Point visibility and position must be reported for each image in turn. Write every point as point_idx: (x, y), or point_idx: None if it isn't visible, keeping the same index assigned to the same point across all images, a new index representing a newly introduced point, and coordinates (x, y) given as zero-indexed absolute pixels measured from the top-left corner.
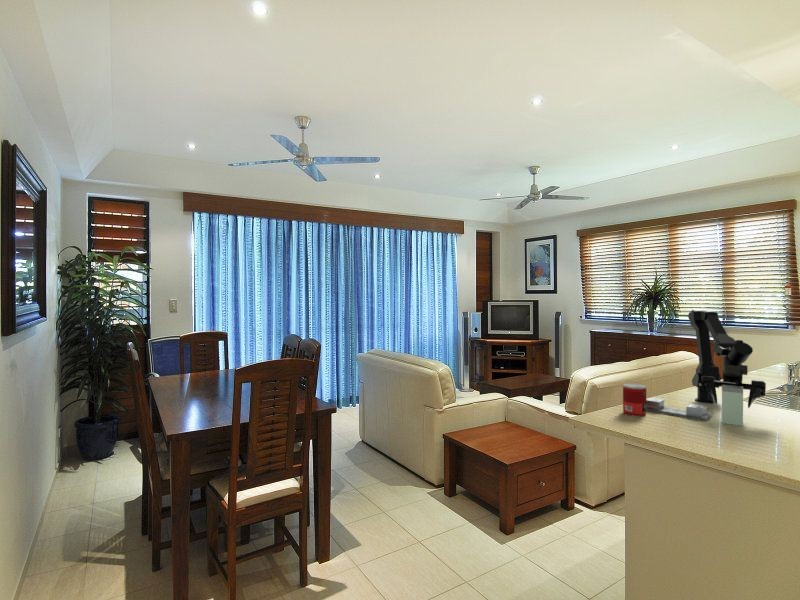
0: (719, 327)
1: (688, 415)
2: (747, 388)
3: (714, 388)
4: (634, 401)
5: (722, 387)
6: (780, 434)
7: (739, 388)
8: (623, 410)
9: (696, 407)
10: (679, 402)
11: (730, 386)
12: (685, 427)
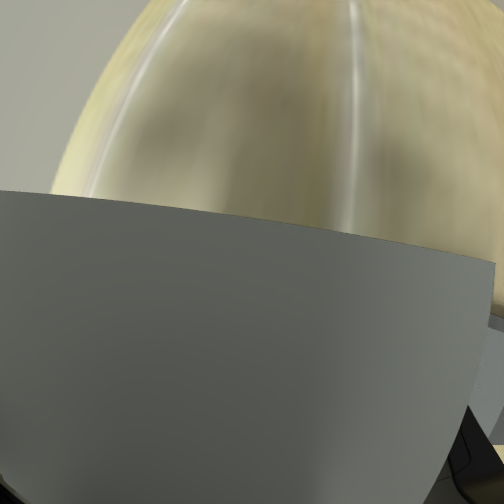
0: None
1: (490, 314)
2: (5, 482)
3: (470, 483)
4: None
5: (475, 262)
6: (88, 172)
7: (28, 223)
8: None
9: (486, 347)
10: None
11: (201, 482)
12: (478, 112)
